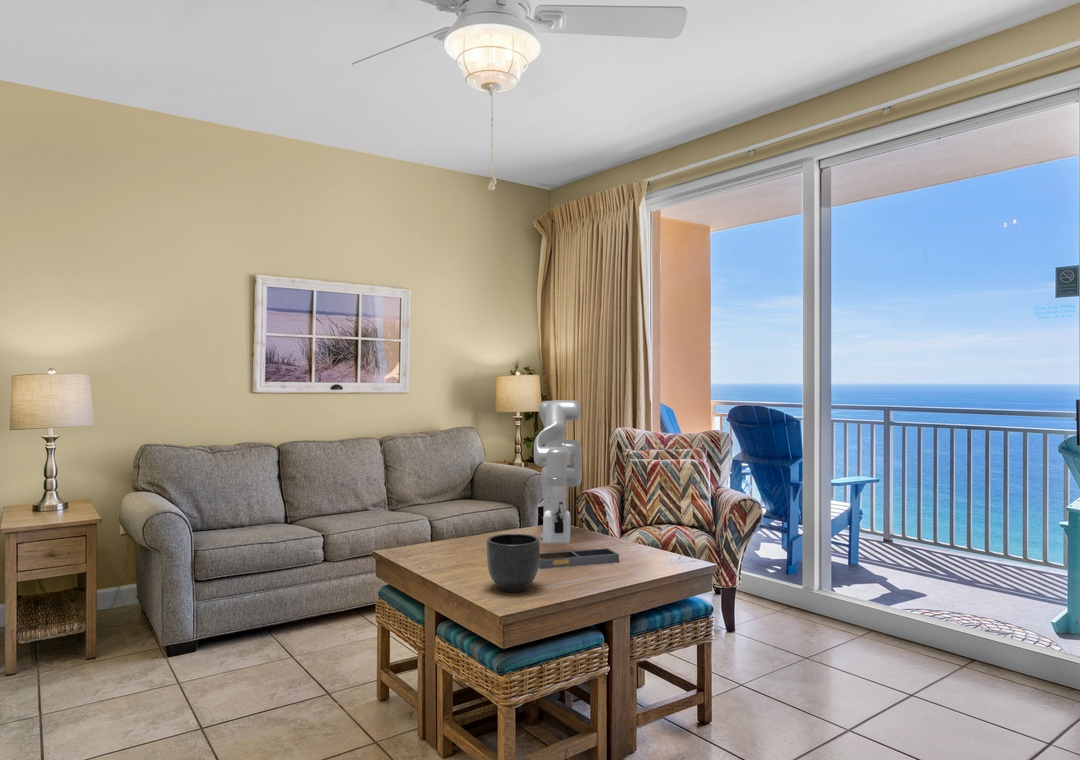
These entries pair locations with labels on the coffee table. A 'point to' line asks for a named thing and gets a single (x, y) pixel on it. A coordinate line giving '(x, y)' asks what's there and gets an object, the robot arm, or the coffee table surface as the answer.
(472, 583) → the coffee table surface
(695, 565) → the coffee table surface
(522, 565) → the planter
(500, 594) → the coffee table surface
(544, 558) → the divided tray
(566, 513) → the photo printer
